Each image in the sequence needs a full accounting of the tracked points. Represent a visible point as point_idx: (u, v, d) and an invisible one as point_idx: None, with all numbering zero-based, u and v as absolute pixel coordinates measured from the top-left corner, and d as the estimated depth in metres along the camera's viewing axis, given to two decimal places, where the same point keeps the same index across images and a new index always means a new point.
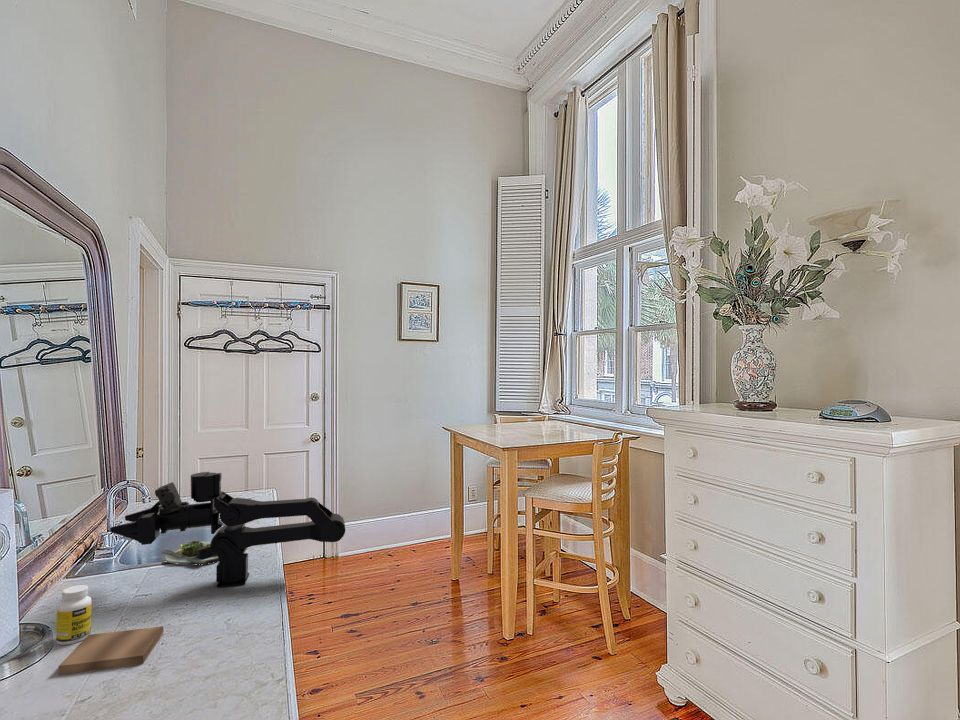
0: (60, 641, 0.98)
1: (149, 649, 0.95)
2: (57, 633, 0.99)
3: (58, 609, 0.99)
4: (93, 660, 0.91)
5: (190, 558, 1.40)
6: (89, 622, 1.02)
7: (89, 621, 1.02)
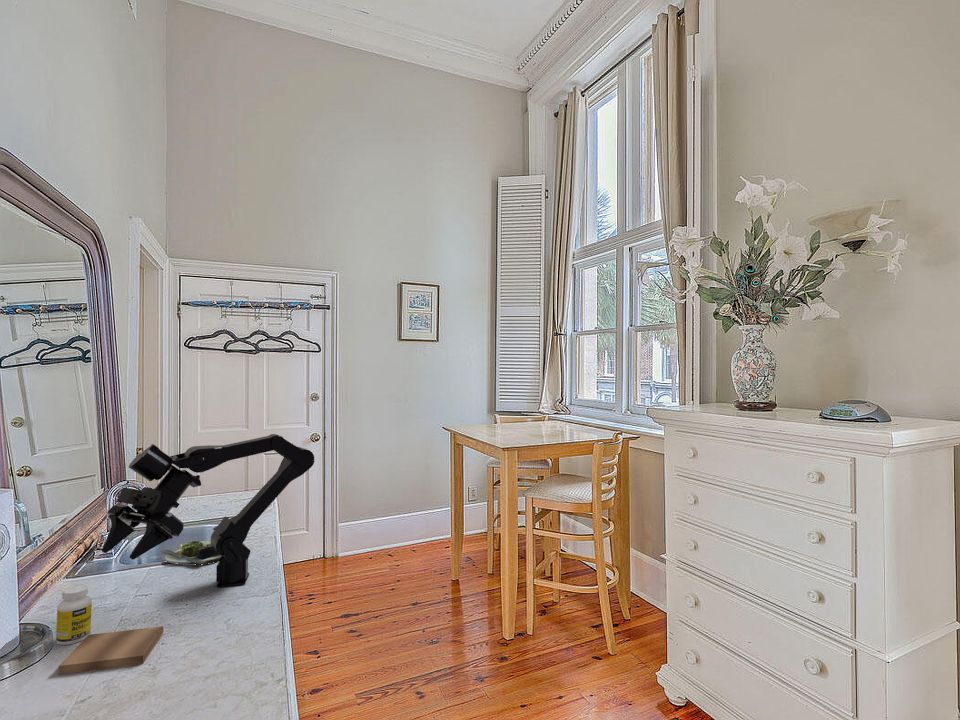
0: (60, 641, 0.98)
1: (149, 649, 0.95)
2: (57, 633, 0.99)
3: (58, 609, 0.99)
4: (93, 660, 0.91)
5: (190, 558, 1.40)
6: (89, 622, 1.02)
7: (89, 621, 1.02)
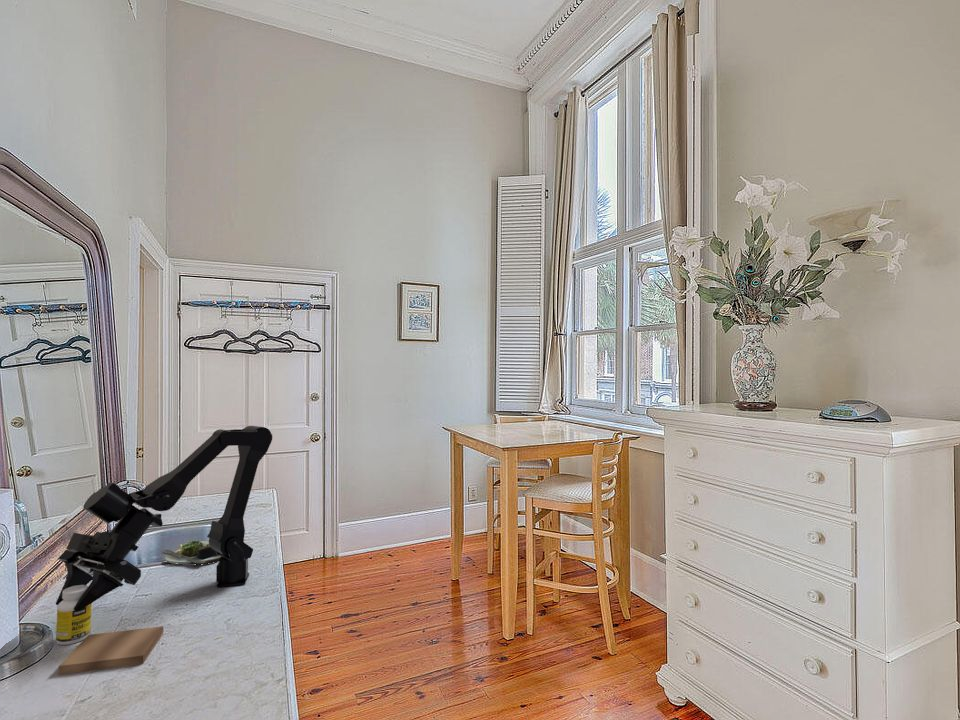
0: (60, 641, 0.98)
1: (149, 649, 0.95)
2: (57, 633, 0.99)
3: (58, 609, 0.99)
4: (93, 660, 0.91)
5: (190, 558, 1.40)
6: (89, 622, 1.02)
7: (89, 621, 1.02)
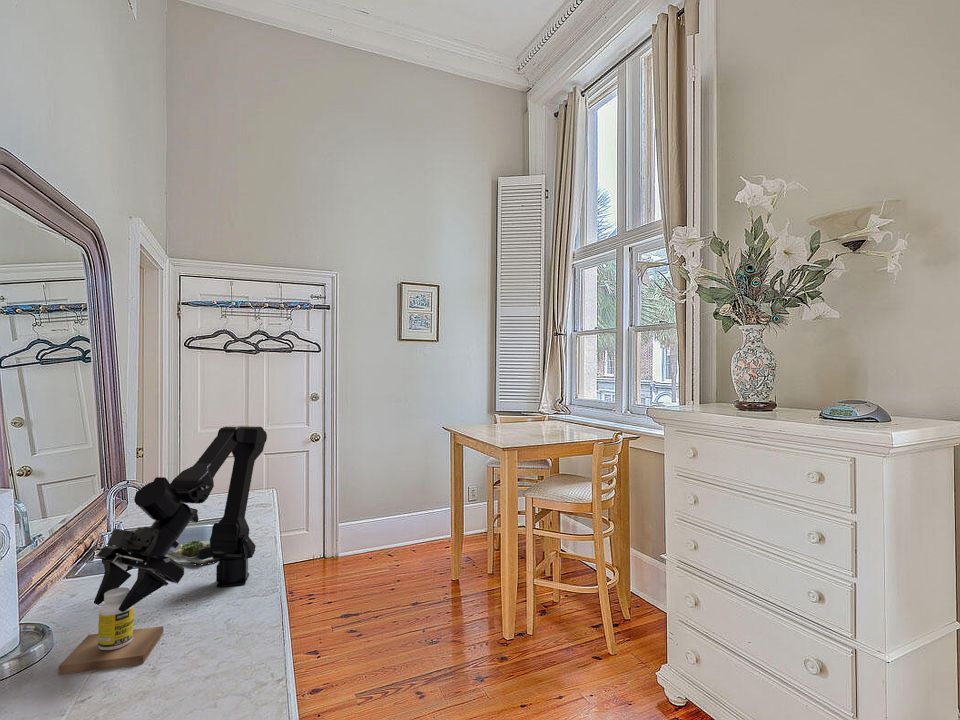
0: (103, 646, 0.94)
1: (149, 649, 0.95)
2: (99, 638, 0.94)
3: (100, 613, 0.94)
4: (93, 660, 0.91)
5: (190, 558, 1.40)
6: (132, 626, 0.97)
7: (132, 625, 0.97)
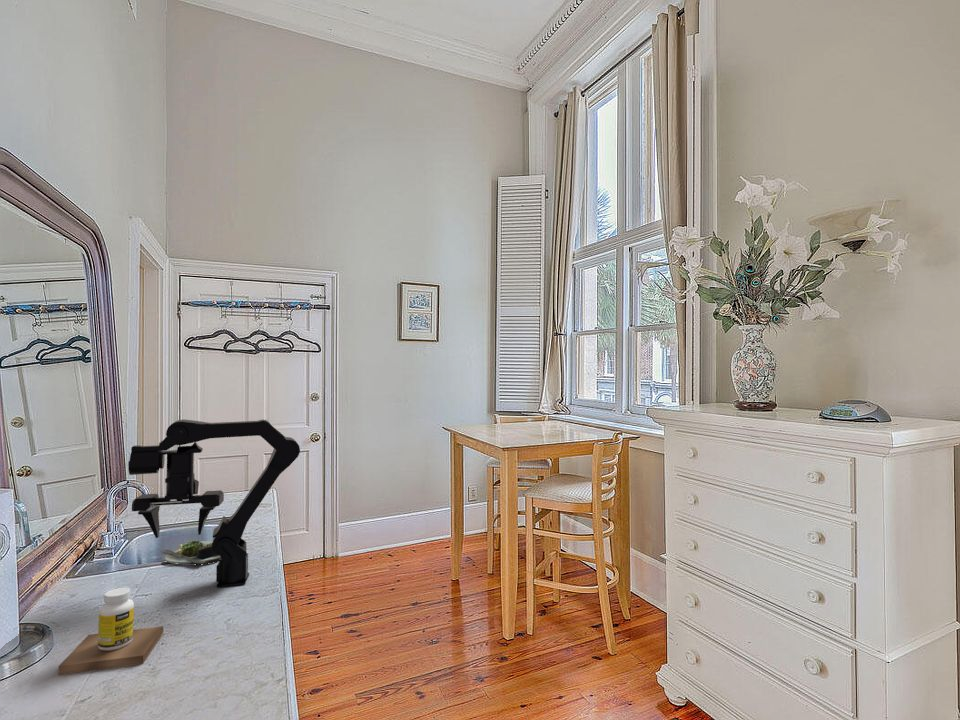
0: (103, 647, 0.94)
1: (149, 649, 0.95)
2: (99, 638, 0.94)
3: (100, 613, 0.94)
4: (93, 660, 0.91)
5: (190, 558, 1.40)
6: (132, 626, 0.97)
7: (132, 625, 0.97)
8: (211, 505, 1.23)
